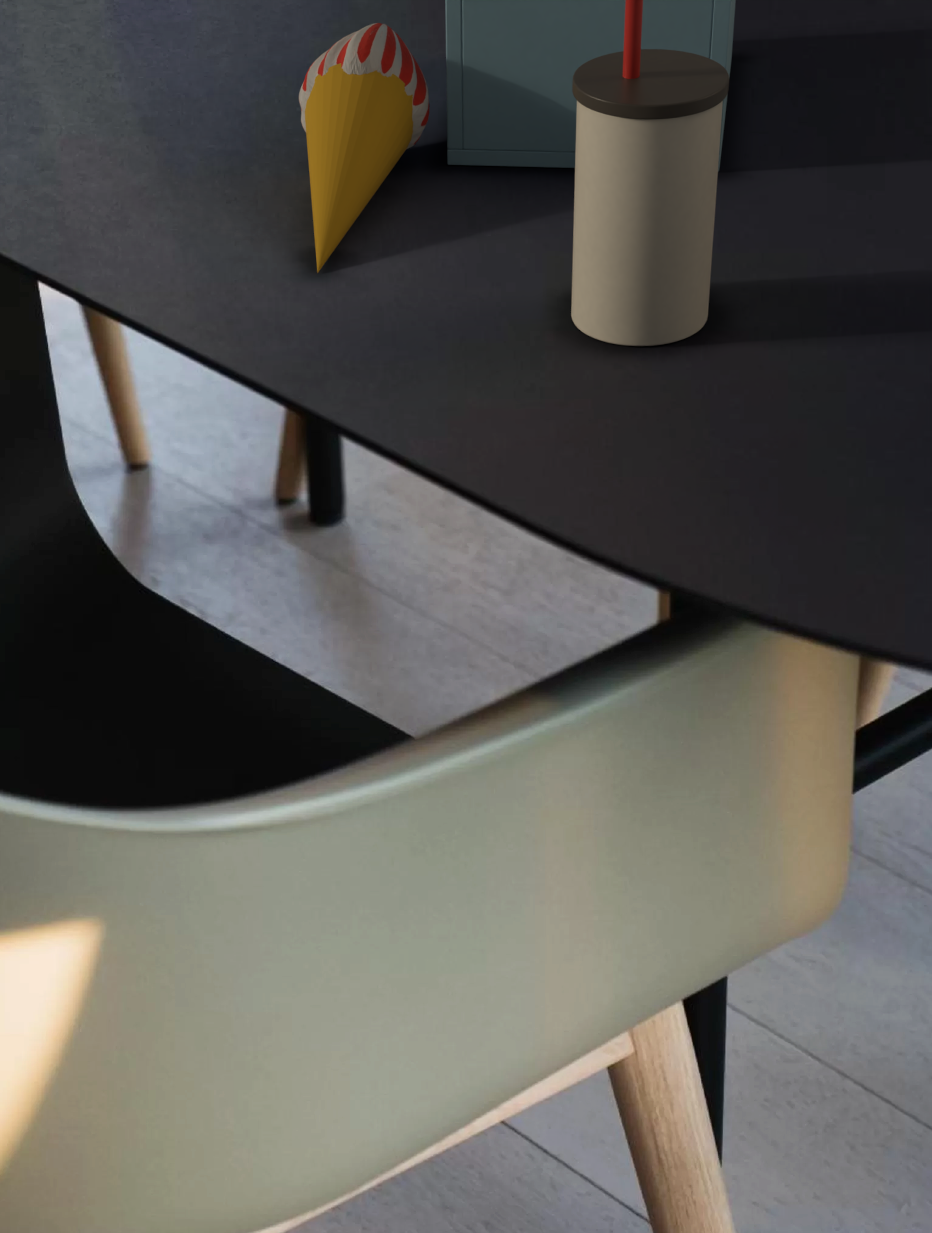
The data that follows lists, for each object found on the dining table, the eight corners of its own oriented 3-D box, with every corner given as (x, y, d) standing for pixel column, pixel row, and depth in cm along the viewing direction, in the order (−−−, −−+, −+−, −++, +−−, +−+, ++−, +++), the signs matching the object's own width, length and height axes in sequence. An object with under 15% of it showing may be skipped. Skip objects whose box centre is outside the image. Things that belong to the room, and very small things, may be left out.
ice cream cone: (305, 347, 106) (372, 98, 117) (409, 293, 102) (468, 41, 113) (222, 256, 102) (300, 9, 113) (327, 196, 98) (396, -53, 110)
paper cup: (715, 286, 99) (744, -120, 88) (708, 351, 94) (738, -69, 83) (573, 282, 100) (584, -121, 89) (559, 346, 95) (569, -71, 84)
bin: (731, 58, 120) (743, -111, 115) (719, 171, 109) (731, -11, 103) (485, 54, 122) (485, -113, 117) (447, 164, 111) (445, -15, 105)
